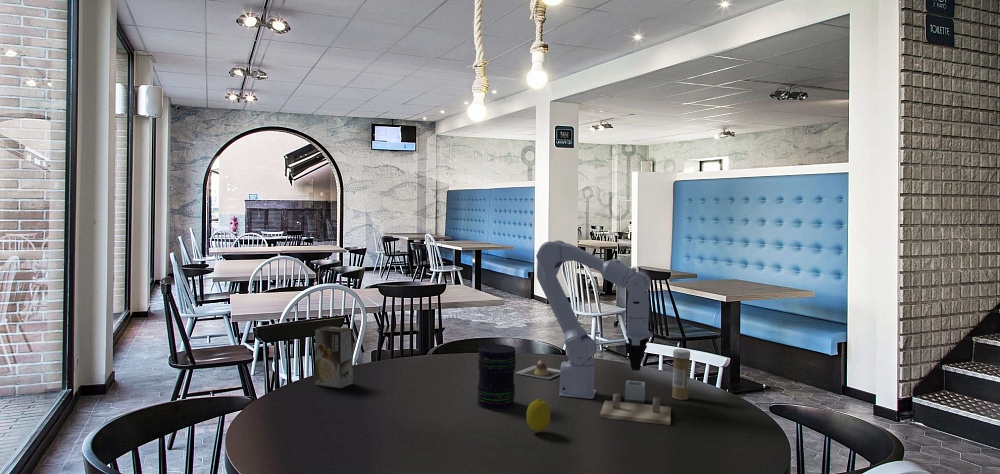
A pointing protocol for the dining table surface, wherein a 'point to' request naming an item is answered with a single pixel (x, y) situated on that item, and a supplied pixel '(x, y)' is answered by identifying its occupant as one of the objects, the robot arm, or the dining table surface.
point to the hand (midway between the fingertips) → (636, 366)
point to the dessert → (539, 370)
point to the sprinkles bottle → (681, 374)
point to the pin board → (636, 411)
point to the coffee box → (333, 356)
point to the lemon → (538, 415)
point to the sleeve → (634, 392)
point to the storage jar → (496, 377)
